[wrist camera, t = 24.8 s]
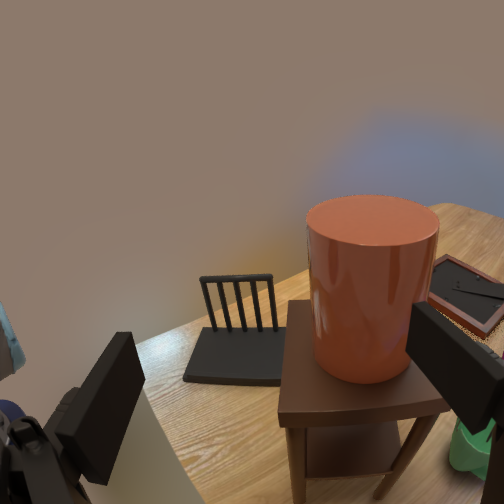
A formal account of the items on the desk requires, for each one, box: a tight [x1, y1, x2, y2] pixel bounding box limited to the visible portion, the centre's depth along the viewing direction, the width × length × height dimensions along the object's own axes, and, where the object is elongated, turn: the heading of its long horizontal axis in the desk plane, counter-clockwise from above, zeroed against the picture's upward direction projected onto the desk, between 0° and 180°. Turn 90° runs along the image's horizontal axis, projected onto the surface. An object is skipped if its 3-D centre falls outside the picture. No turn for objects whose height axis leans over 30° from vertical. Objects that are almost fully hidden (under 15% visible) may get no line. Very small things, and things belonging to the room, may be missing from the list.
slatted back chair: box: [183, 274, 286, 386], centre depth 51 cm, size 18×14×14 cm
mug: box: [449, 417, 496, 481], centre depth 23 cm, size 15×10×10 cm
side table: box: [278, 299, 451, 504], centre depth 27 cm, size 12×12×24 cm
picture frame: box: [427, 254, 504, 340], centre depth 58 cm, size 20×2×25 cm
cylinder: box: [306, 195, 440, 384], centre depth 19 cm, size 8×8×10 cm
